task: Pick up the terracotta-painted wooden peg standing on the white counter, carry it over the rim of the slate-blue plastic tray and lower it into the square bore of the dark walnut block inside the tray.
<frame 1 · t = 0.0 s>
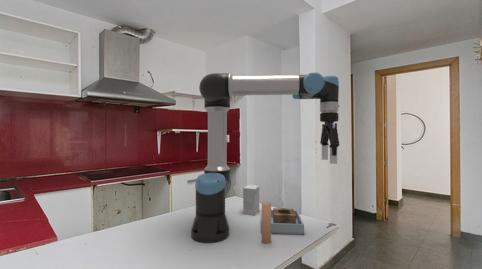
hand: (328, 161, 104), 28 cm above the counter, fingers open, 13 cm apart
tray: (280, 225, 104), on the counter
peg: (266, 241, 89), on the counter
small box: (251, 212, 121), on the counter
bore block: (284, 225, 104), resting on tray
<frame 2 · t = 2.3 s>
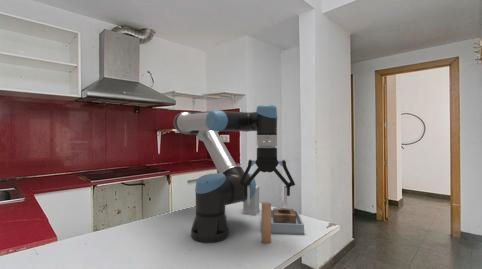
hand: (266, 204, 89), 14 cm above the counter, fingers open, 13 cm apart
nothing on the counter moved.
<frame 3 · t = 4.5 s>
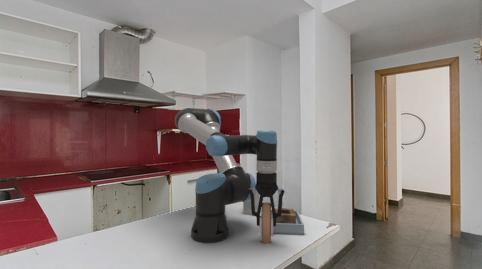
hand: (266, 234, 89), 3 cm above the counter, fingers closed on peg, 3 cm apart
peg: (266, 241, 89), on the counter, touching gripper
everything else where it was.
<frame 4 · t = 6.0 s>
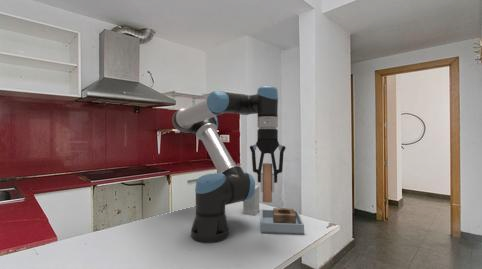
hand: (267, 191, 89), 19 cm above the counter, fingers closed on peg, 3 cm apart
peg: (267, 201, 89), point 15 cm above the counter, touching gripper
everything else where it was.
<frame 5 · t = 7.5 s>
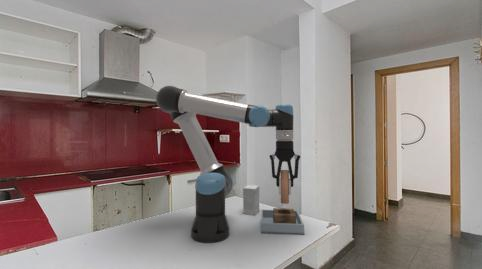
hand: (284, 193, 104), 14 cm above the counter, fingers closed on peg, 3 cm apart
peg: (284, 202, 104), point 10 cm above the counter, touching gripper
everything else where it was.
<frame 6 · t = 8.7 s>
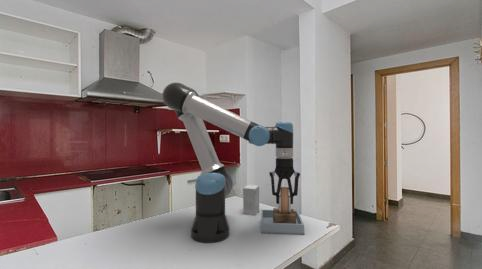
hand: (284, 211, 104), 6 cm above the counter, fingers closed on peg, 3 cm apart
peg: (284, 219, 104), point 2 cm above the counter, touching gripper
everything else where it was.
when the fingers open (6 cm above the counter, at t = 10.7 s): peg stays where it is, resting on tray.
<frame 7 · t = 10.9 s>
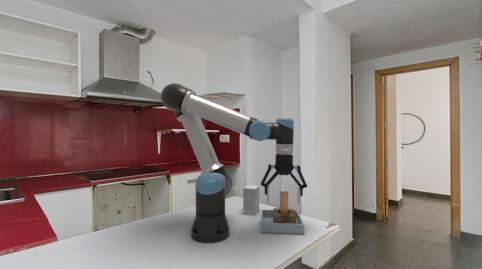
hand: (283, 202, 104), 10 cm above the counter, fingers open, 12 cm apart
peg: (284, 224, 104), point 1 cm above the counter, touching tray
everything else where it was.
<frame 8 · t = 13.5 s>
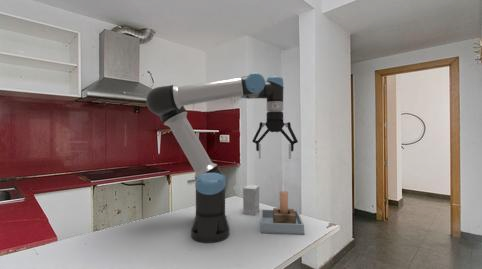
hand: (274, 158, 108), 29 cm above the counter, fingers open, 13 cm apart
nothing on the counter moved.
at the end: peg 0.1 cm off-centre on the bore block, point 0.6 cm above the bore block's base; peg tilted 1°; the gripper is holding nothing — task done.
